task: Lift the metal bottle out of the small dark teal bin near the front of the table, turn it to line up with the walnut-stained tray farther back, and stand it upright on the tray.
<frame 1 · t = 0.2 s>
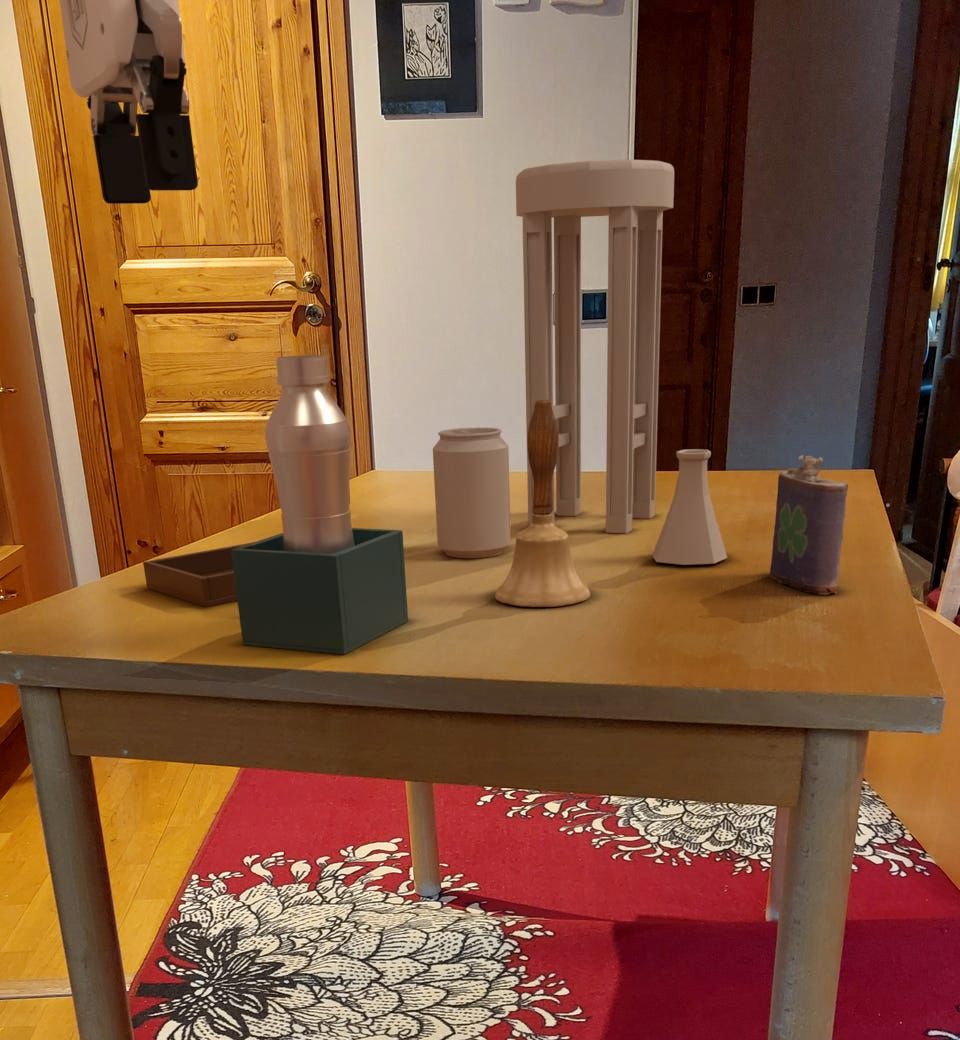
hand: (149, 196, 77), 31 cm above the table, tool pointing down, fingers open, 9 cm apart
can: (474, 554, 120), on the table
metal bottle: (327, 631, 93), resting on bin
flask 2: (800, 586, 102), on the table
bin: (327, 632, 93), on the table
tray: (252, 582, 111), on the table
stool: (592, 524, 133), on the table
hand bell: (542, 599, 102), on the table
flask: (689, 561, 113), on the table
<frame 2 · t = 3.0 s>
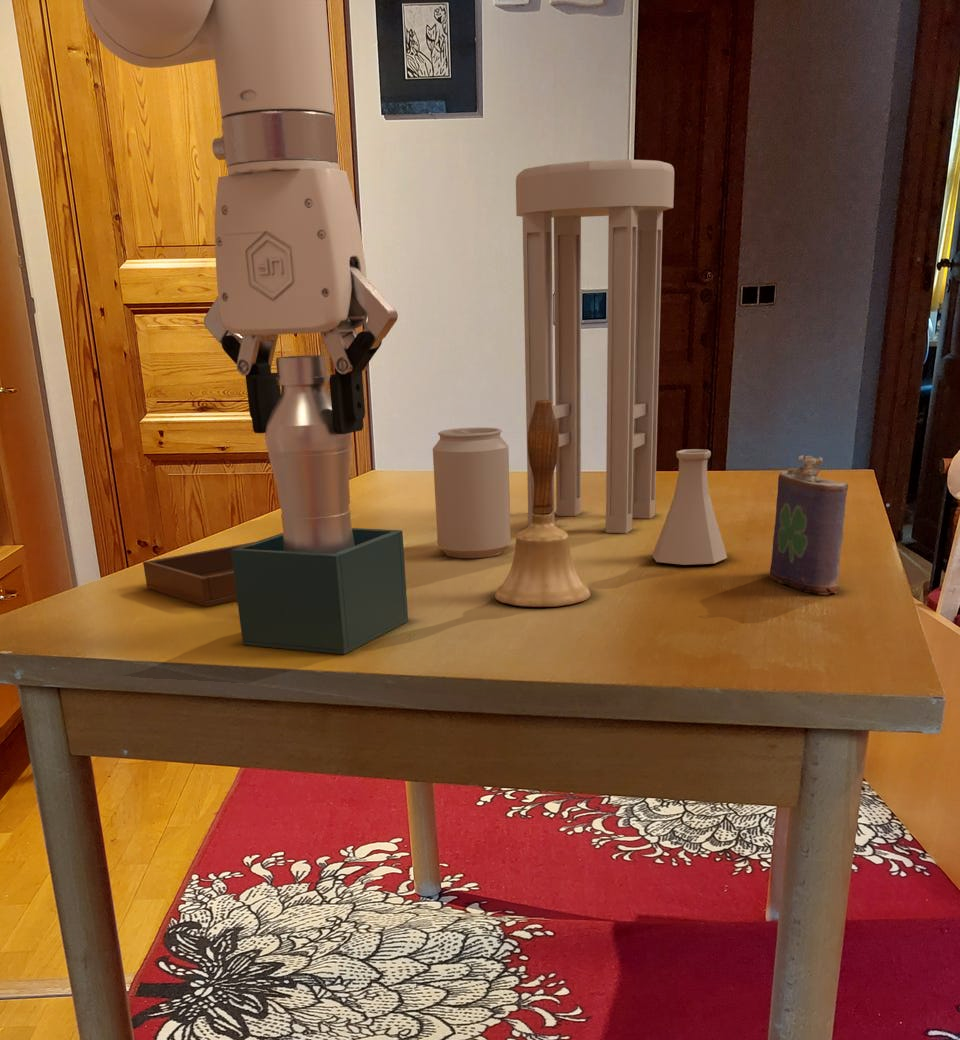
hand: (308, 429, 87), 15 cm above the table, tool pointing down, fingers closed on metal bottle, 6 cm apart
metal bottle: (327, 631, 93), resting on bin, touching gripper
everything else where it was.
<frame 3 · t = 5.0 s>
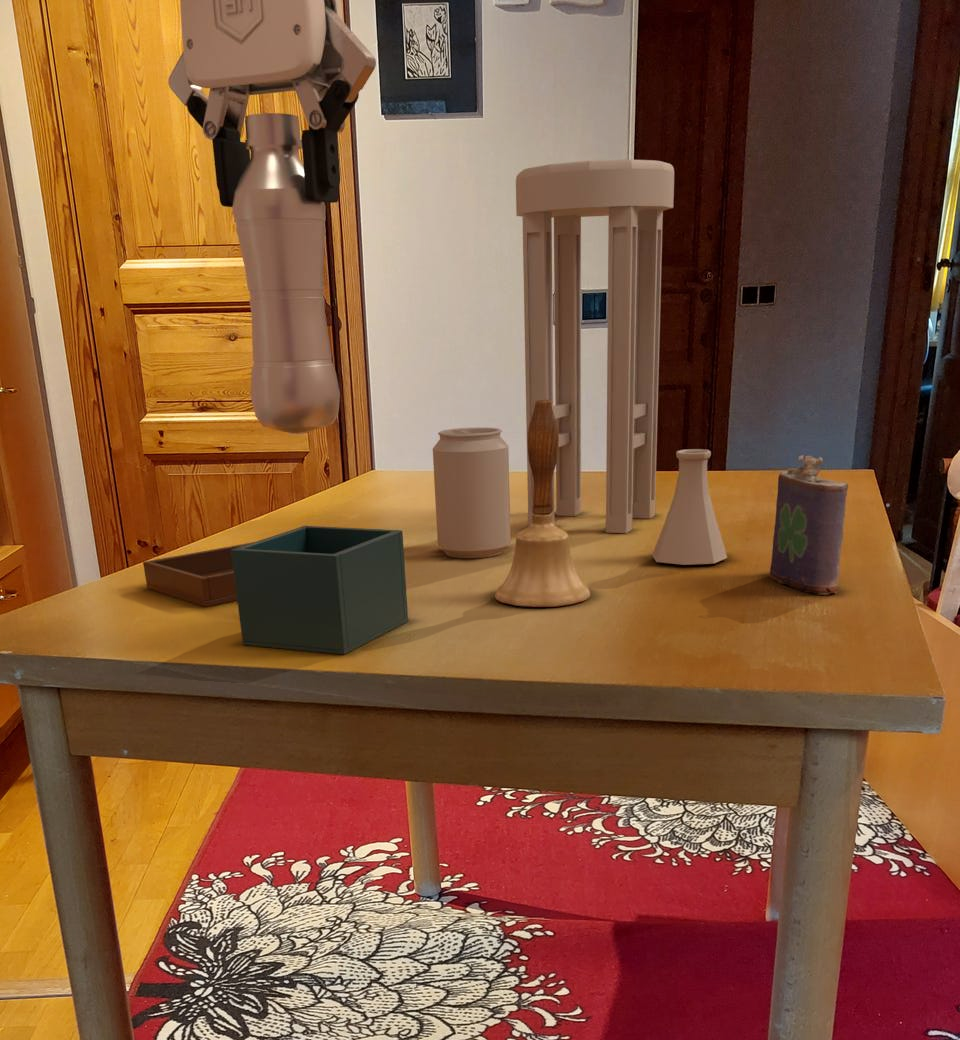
hand: (279, 201, 80), 30 cm above the table, tool pointing down, fingers closed on metal bottle, 6 cm apart
metal bottle: (298, 435, 87), point 15 cm above the table, touching gripper
everything else where it was.
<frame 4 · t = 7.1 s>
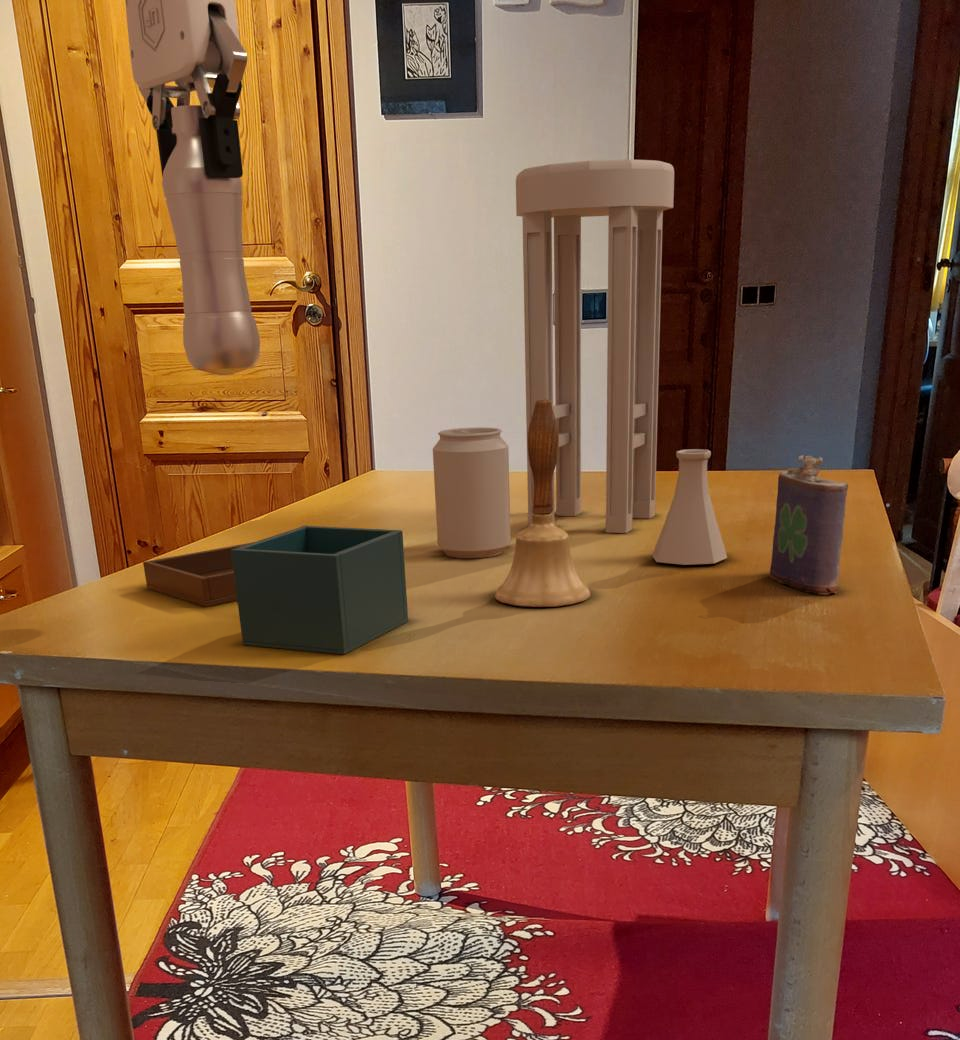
hand: (202, 179, 97), 33 cm above the table, tool pointing down, fingers closed on metal bottle, 6 cm apart
metal bottle: (225, 377, 103), point 18 cm above the table, touching gripper
everything else where it was.
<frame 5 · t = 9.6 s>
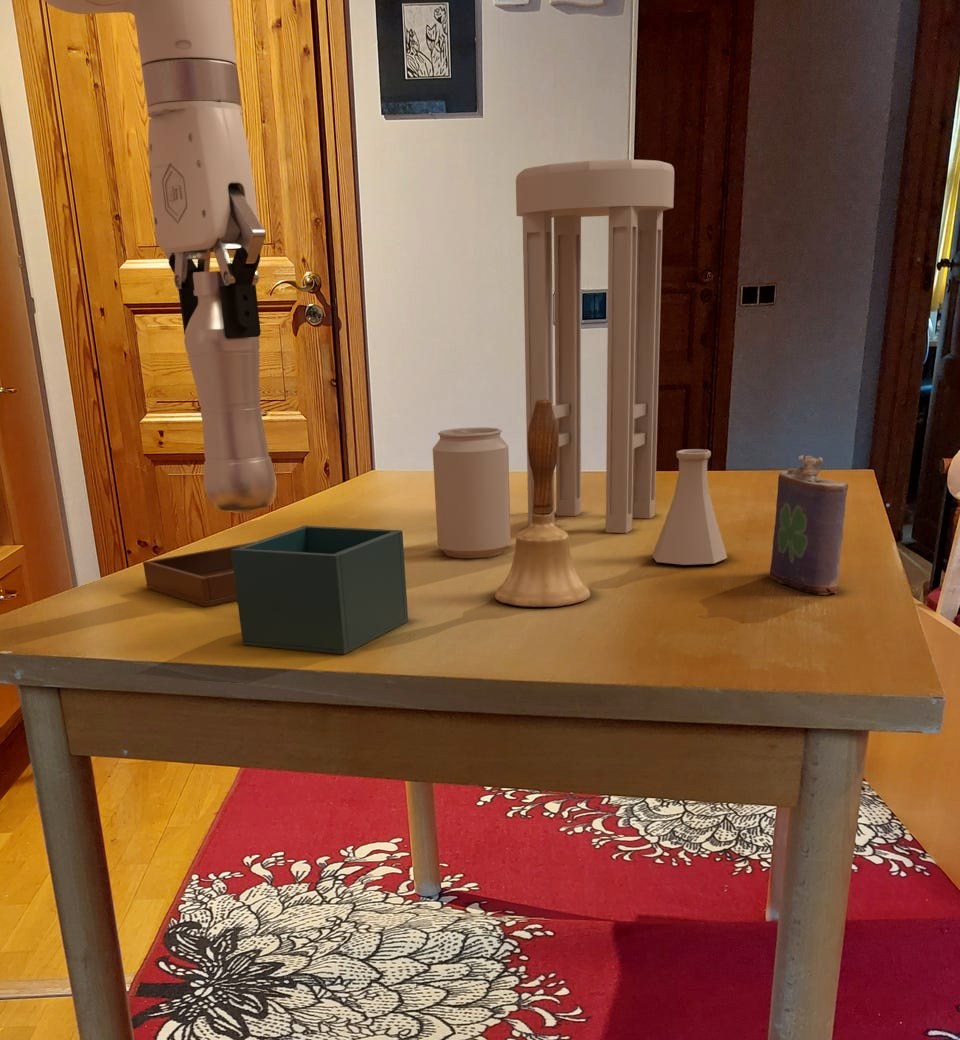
hand: (222, 335, 102), 21 cm above the table, tool pointing down, fingers closed on metal bottle, 6 cm apart
metal bottle: (244, 514, 109), point 6 cm above the table, touching gripper
everything else where it was.
when the fingers open (16 cm above the table, at t = 11.5 s): metal bottle stays where it is, resting on tray.
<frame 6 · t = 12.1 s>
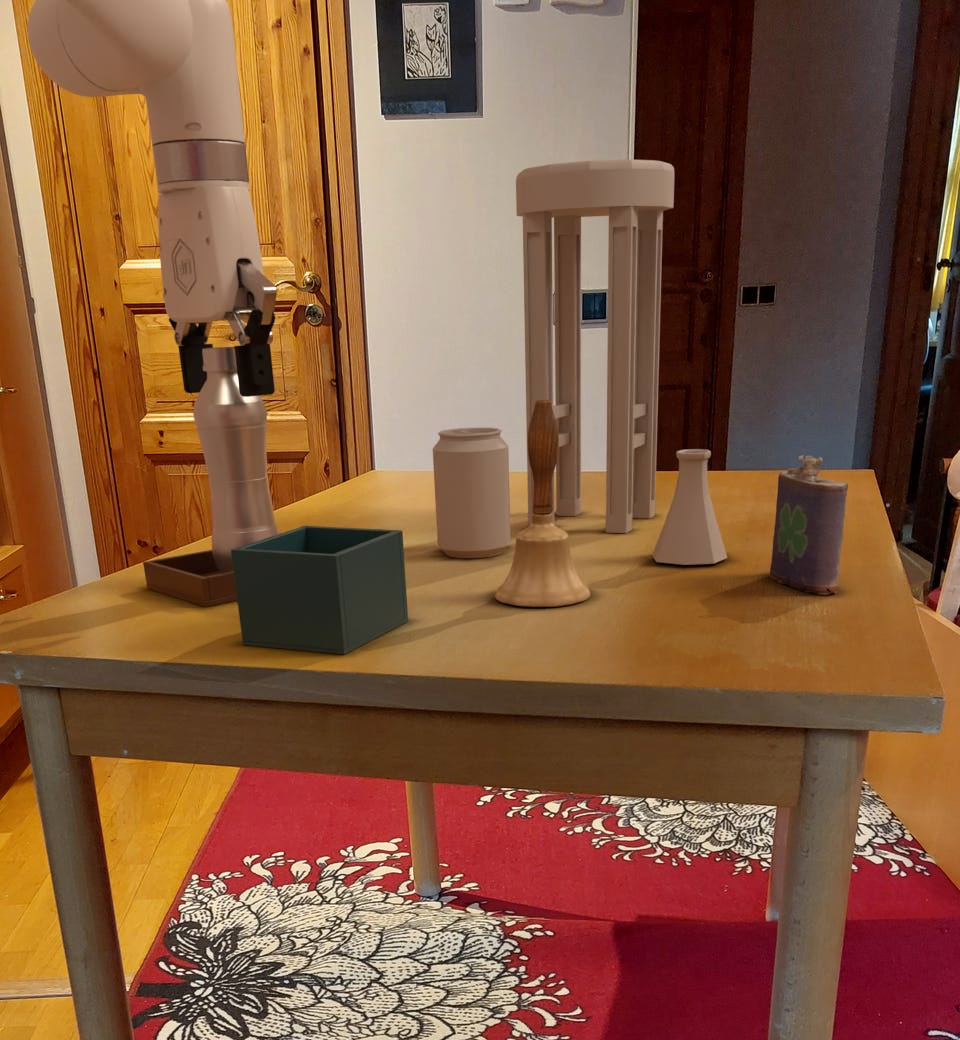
hand: (228, 393, 104), 17 cm above the table, tool pointing down, fingers open, 9 cm apart
metal bottle: (251, 578, 111), resting on tray
everything else where it was.
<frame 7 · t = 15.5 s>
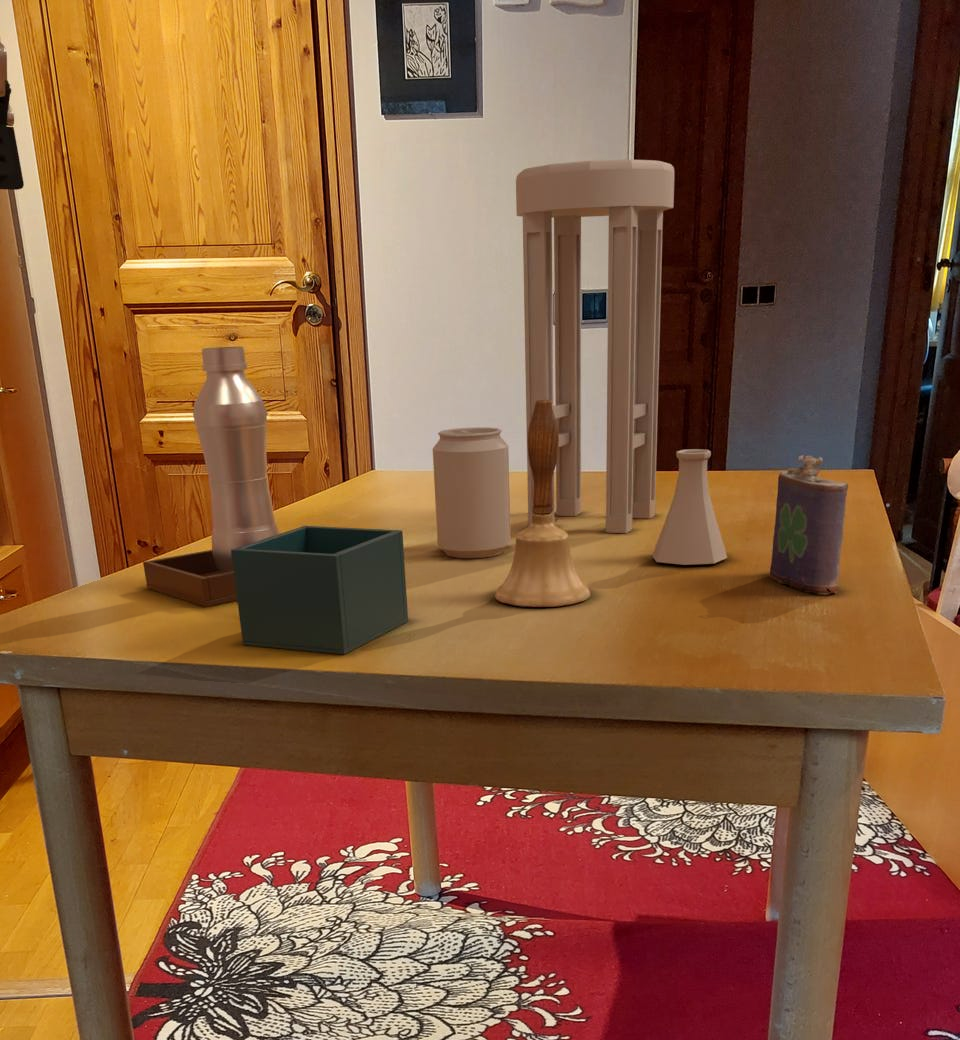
nothing on the table moved.
at the end: metal bottle inside the target area in the tray (0.1 cm from its centre), point 0.3 cm above the tray's base; metal bottle tilted 0°; the gripper is holding nothing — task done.
